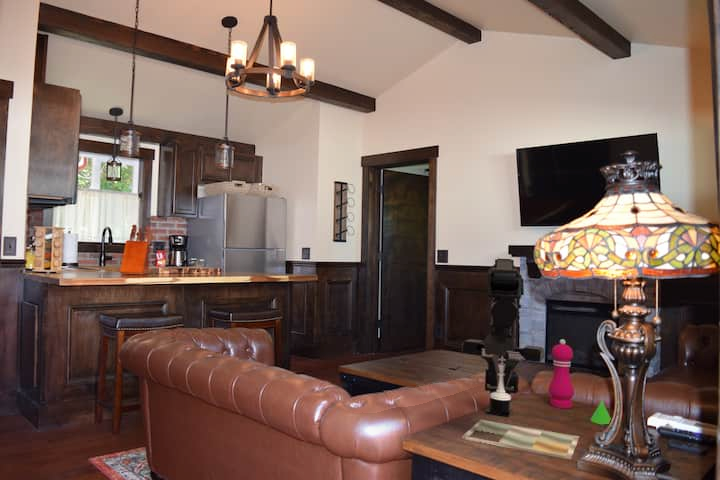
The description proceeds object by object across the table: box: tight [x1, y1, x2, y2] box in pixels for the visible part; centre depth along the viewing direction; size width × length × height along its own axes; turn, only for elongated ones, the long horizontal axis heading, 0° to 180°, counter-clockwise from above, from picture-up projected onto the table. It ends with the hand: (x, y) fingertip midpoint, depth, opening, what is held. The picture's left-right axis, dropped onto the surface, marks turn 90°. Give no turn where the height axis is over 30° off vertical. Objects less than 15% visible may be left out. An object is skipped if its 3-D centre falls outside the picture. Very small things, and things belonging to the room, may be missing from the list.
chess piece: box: [489, 356, 512, 401], centre depth 132 cm, size 5×5×10 cm
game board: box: [461, 419, 580, 460], centre depth 133 cm, size 17×24×1 cm
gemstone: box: [590, 400, 612, 425], centre depth 151 cm, size 6×6×6 cm
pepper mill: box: [548, 338, 575, 409], centre depth 166 cm, size 7×7×20 cm
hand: (501, 386), depth 132 cm, fingers closed on chess piece
